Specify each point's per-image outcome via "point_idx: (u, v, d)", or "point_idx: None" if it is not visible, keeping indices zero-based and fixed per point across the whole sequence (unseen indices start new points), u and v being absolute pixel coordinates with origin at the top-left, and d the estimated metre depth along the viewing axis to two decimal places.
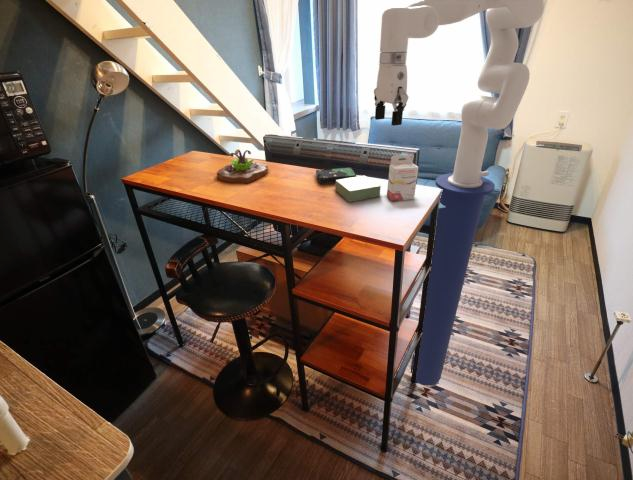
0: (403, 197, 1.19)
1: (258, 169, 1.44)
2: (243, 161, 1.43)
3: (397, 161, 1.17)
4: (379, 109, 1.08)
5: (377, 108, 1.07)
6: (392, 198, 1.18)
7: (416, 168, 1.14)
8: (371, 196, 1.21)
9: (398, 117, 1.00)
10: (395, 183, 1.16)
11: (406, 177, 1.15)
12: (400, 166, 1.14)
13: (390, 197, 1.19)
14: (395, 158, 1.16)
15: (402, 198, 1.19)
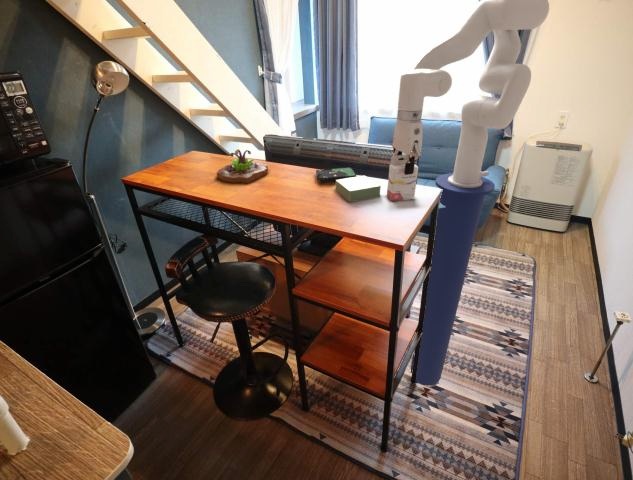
0: (403, 197, 1.19)
1: (258, 169, 1.44)
2: (243, 161, 1.43)
3: (397, 161, 1.17)
4: None
5: None
6: (392, 198, 1.18)
7: (416, 168, 1.14)
8: (371, 196, 1.21)
9: (410, 168, 1.12)
10: (395, 183, 1.16)
11: (406, 177, 1.15)
12: (400, 166, 1.14)
13: (390, 197, 1.19)
14: (395, 158, 1.16)
15: (402, 198, 1.19)
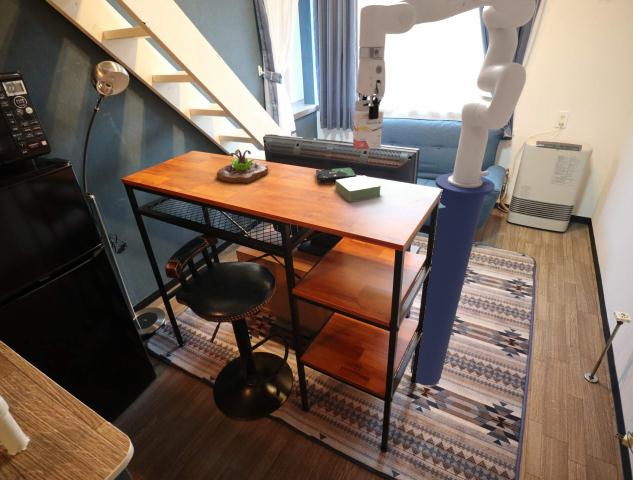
0: (369, 146, 1.14)
1: (258, 169, 1.44)
2: (243, 161, 1.43)
3: (362, 107, 1.12)
4: None
5: None
6: (357, 146, 1.14)
7: (381, 113, 1.09)
8: (371, 196, 1.21)
9: (374, 111, 1.07)
10: (360, 130, 1.11)
11: (371, 123, 1.10)
12: (365, 111, 1.09)
13: (355, 146, 1.14)
14: (359, 103, 1.11)
15: (368, 147, 1.14)
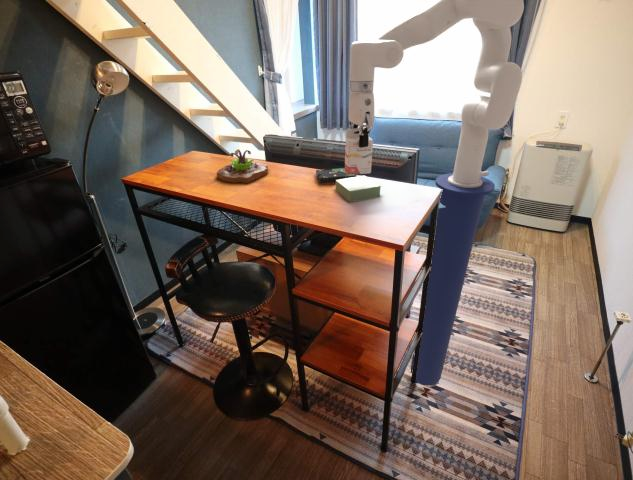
0: (360, 171, 1.19)
1: (258, 169, 1.44)
2: (243, 161, 1.43)
3: (353, 135, 1.17)
4: (354, 133, 1.17)
5: None
6: (348, 172, 1.19)
7: (371, 141, 1.15)
8: (371, 196, 1.21)
9: (364, 140, 1.12)
10: (351, 157, 1.16)
11: (361, 150, 1.15)
12: (355, 139, 1.15)
13: (347, 171, 1.20)
14: (350, 131, 1.16)
15: (359, 172, 1.20)
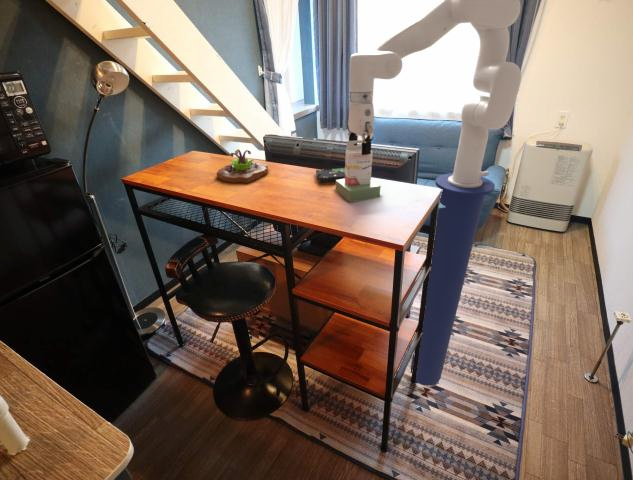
0: (359, 182, 1.21)
1: (258, 169, 1.44)
2: (243, 161, 1.43)
3: (353, 146, 1.19)
4: (352, 138, 1.20)
5: (350, 138, 1.19)
6: (348, 183, 1.21)
7: None
8: (371, 196, 1.21)
9: (367, 148, 1.12)
10: (351, 168, 1.18)
11: (361, 162, 1.18)
12: (355, 151, 1.17)
13: (347, 182, 1.22)
14: (350, 143, 1.18)
15: (359, 183, 1.22)
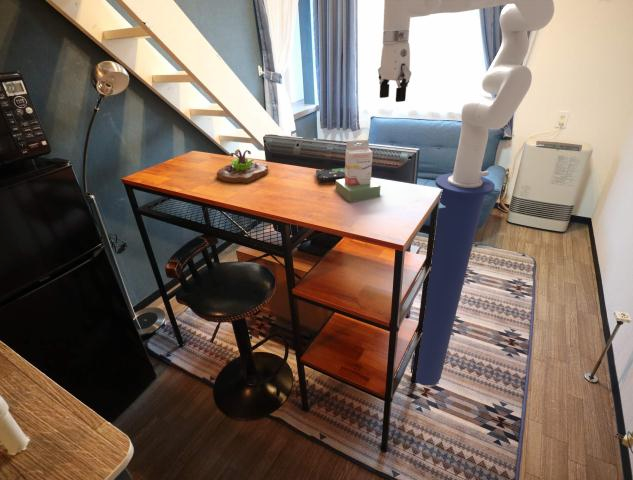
0: (359, 182, 1.21)
1: (258, 169, 1.44)
2: (243, 161, 1.43)
3: (353, 146, 1.19)
4: (383, 87, 1.12)
5: (381, 86, 1.12)
6: (348, 183, 1.21)
7: (370, 153, 1.17)
8: (371, 196, 1.21)
9: (402, 93, 1.04)
10: (351, 168, 1.18)
11: (361, 162, 1.18)
12: (355, 151, 1.17)
13: (347, 182, 1.22)
14: (350, 143, 1.18)
15: (359, 183, 1.22)
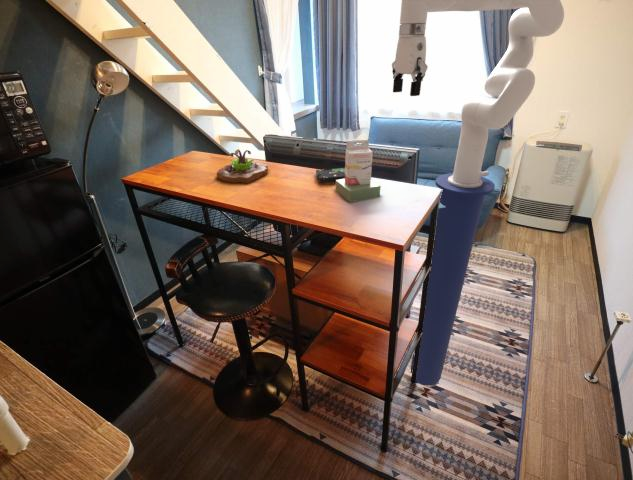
0: (359, 182, 1.21)
1: (258, 169, 1.44)
2: (243, 161, 1.43)
3: (353, 146, 1.19)
4: (397, 82, 1.12)
5: (395, 81, 1.11)
6: (348, 183, 1.21)
7: (370, 153, 1.17)
8: (371, 196, 1.21)
9: (417, 87, 1.04)
10: (351, 168, 1.18)
11: (361, 162, 1.18)
12: (355, 151, 1.17)
13: (347, 182, 1.22)
14: (350, 143, 1.18)
15: (359, 183, 1.22)
